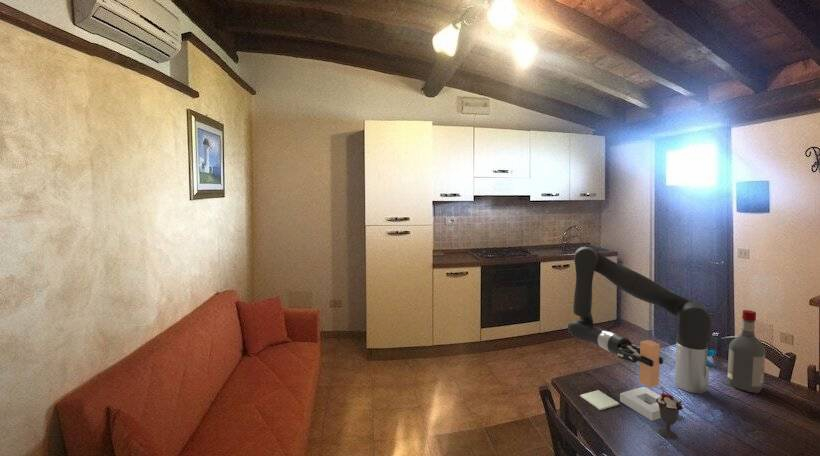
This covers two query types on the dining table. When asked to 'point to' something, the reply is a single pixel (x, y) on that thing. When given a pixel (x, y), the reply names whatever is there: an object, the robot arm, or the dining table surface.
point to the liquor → (746, 357)
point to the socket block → (642, 402)
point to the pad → (599, 400)
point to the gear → (709, 354)
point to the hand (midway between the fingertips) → (657, 362)
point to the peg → (649, 373)
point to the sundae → (668, 413)
